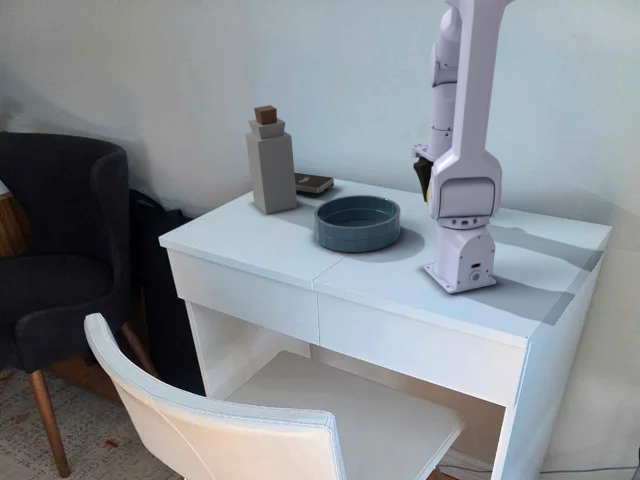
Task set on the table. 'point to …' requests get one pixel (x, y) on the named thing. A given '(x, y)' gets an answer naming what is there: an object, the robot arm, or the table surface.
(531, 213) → the table surface
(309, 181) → the external hard drive
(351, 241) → the bowl
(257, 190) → the perfume bottle
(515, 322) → the table surface
